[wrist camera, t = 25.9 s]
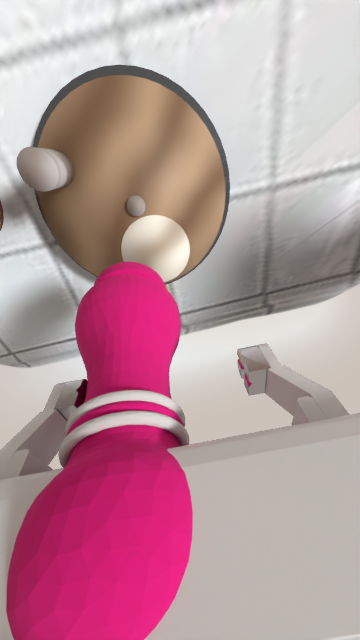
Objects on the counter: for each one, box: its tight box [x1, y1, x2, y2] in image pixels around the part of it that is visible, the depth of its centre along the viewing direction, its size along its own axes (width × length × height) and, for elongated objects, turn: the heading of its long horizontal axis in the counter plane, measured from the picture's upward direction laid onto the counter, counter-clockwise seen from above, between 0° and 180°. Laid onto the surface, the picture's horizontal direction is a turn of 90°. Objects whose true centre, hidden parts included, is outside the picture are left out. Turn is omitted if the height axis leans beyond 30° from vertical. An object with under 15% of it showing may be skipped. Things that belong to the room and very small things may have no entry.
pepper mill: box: [6, 262, 193, 640], centre depth 12 cm, size 7×7×20 cm
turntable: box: [17, 75, 225, 284], centre depth 23 cm, size 20×20×6 cm
